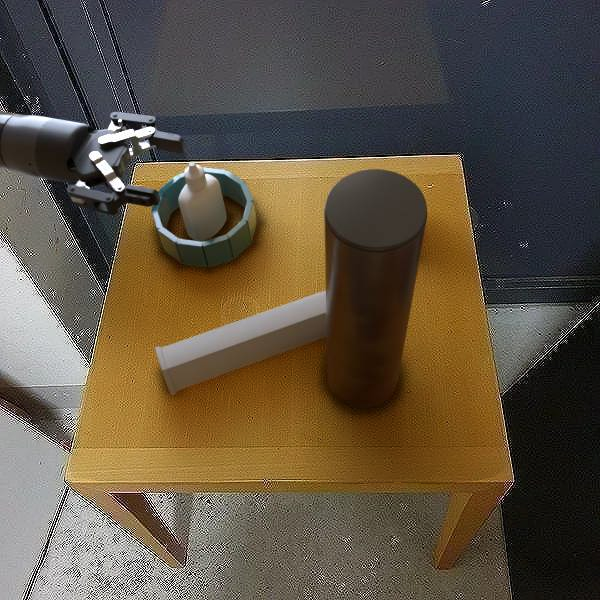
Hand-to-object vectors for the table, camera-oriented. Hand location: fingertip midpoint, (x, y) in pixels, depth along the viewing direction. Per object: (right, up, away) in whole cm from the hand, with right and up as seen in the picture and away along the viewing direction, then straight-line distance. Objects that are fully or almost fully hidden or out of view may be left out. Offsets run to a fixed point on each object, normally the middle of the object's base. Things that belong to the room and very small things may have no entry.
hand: (171, 171), depth 83 cm
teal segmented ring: (+3, -6, +8) cm, 10 cm away
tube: (+12, -21, -1) cm, 24 cm away
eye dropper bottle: (+3, -6, +8) cm, 11 cm away
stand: (+23, -24, -4) cm, 33 cm away
